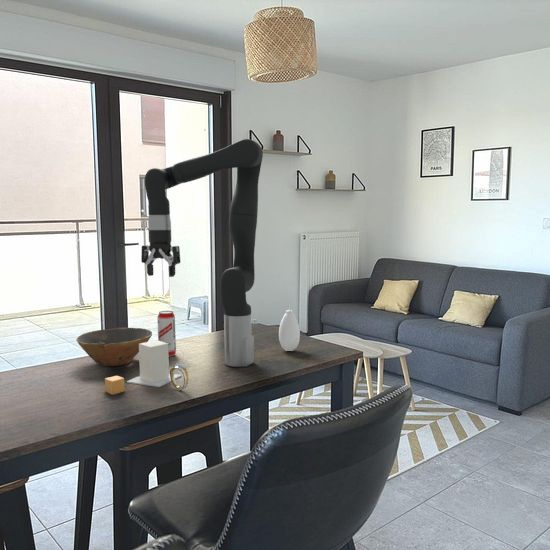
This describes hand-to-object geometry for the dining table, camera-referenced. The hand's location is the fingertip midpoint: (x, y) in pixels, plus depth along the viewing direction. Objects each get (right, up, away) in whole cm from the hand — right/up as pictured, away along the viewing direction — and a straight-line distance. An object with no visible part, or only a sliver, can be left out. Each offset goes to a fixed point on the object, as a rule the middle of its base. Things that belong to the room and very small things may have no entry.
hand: (161, 276), depth 191 cm
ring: (+11, -34, -27) cm, 44 cm away
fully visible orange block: (-8, -34, -28) cm, 44 cm away
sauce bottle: (+44, -28, +17) cm, 55 cm away
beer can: (0, -29, +12) cm, 32 cm away
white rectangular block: (+1, -32, -16) cm, 36 cm away
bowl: (-16, -30, +3) cm, 35 cm away
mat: (+1, -32, -16) cm, 36 cm away
